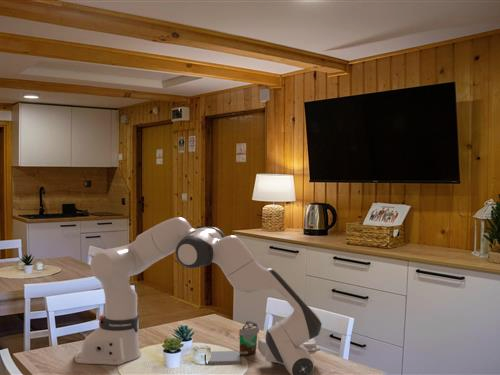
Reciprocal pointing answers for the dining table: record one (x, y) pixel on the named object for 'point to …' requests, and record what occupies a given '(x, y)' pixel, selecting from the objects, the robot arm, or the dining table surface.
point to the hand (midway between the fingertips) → (283, 338)
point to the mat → (224, 357)
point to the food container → (248, 338)
